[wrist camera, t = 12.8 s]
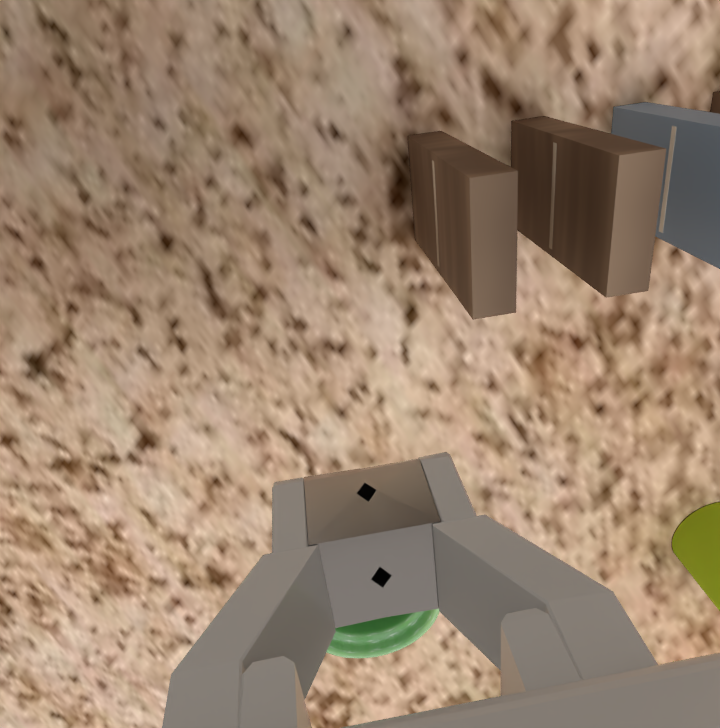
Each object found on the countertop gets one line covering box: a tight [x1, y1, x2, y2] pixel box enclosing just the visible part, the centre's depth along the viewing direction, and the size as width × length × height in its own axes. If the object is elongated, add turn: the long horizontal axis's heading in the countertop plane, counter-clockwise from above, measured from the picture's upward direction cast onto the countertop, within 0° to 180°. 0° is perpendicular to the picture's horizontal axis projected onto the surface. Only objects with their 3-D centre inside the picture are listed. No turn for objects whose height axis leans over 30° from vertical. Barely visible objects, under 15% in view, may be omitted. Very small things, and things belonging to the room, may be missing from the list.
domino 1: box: [408, 131, 518, 319], centre depth 25 cm, size 2×5×10 cm, turn 6°
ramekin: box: [327, 609, 439, 658], centre depth 38 cm, size 9×9×4 cm
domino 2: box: [511, 116, 666, 298], centre depth 25 cm, size 2×5×10 cm, turn 7°
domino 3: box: [611, 102, 720, 269], centre depth 25 cm, size 2×5×10 cm, turn 7°
